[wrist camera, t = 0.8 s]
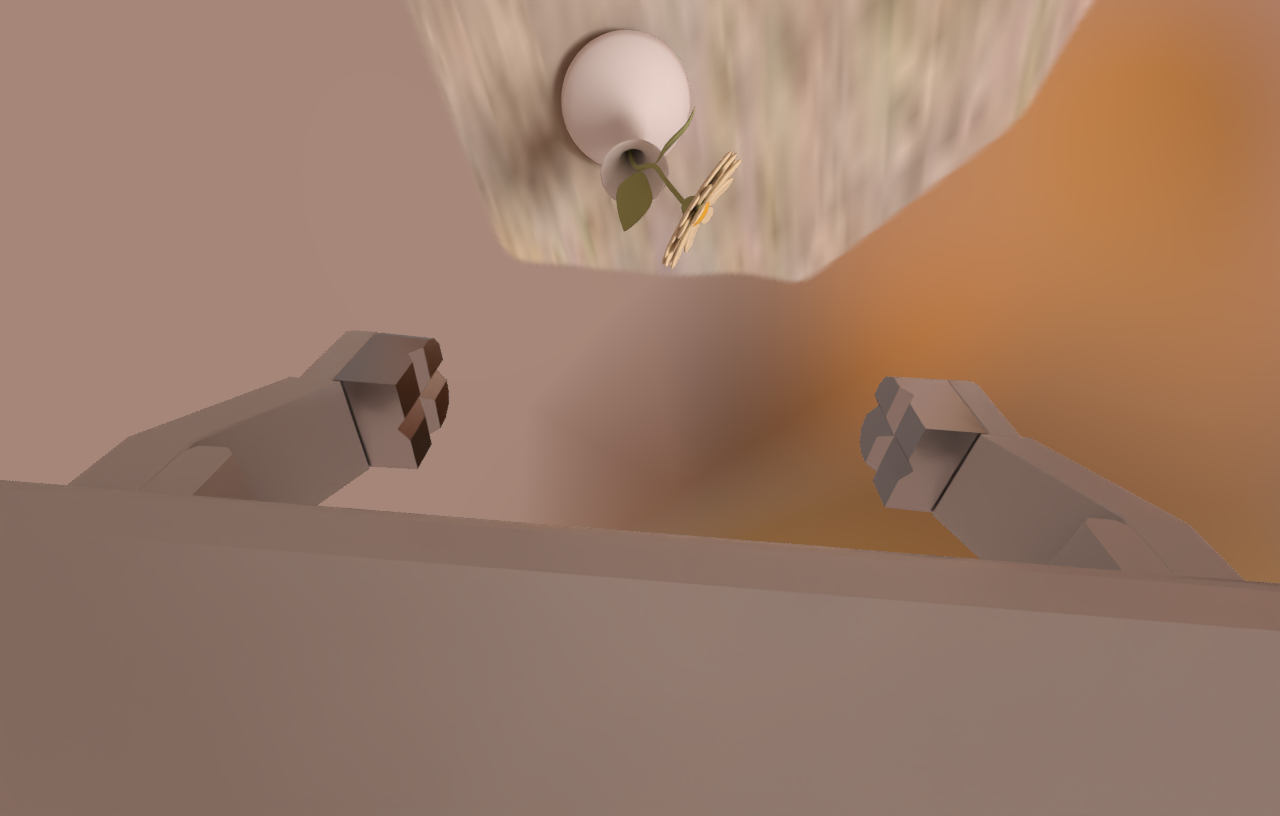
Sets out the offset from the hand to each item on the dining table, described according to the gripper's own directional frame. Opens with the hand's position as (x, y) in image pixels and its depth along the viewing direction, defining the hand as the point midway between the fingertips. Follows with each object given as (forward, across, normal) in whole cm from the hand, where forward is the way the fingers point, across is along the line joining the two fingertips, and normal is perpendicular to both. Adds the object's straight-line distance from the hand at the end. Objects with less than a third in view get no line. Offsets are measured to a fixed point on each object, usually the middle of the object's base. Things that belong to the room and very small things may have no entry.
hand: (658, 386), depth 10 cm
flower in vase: (+46, +3, 0) cm, 47 cm away
